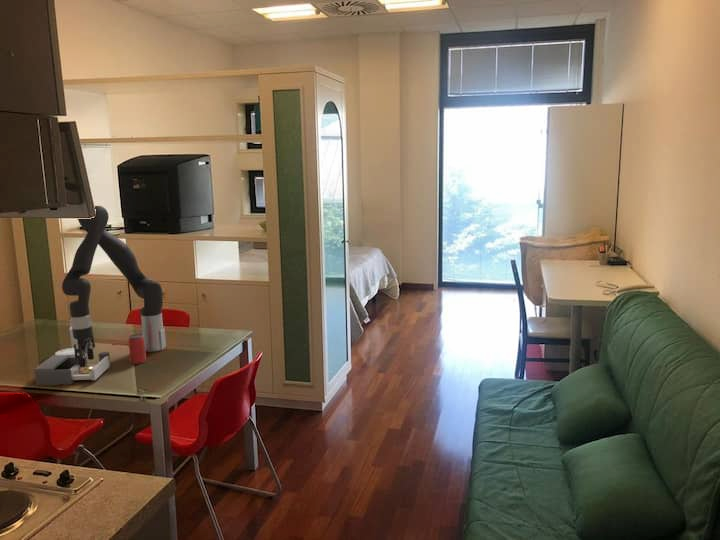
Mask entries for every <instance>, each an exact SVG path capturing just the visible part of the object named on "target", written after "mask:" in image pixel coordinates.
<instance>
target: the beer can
mask: <svg viewBox="0 0 720 540" xmlns="http://www.w3.org/2000/svg"><path fill="white" fill-rule="evenodd" d="M128 348H129V349H128V351H129V359H130V363H131V364H134V365H137V364H138V365H139V364H142V363H145V362H146V361H147V351H145V341H144V338H143V333H142V334H141V333H136V334H131V335H129V337H128Z"/></svg>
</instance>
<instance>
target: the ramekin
mask: <svg viewBox="0 0 720 540" xmlns="http://www.w3.org/2000/svg"><path fill="white" fill-rule="evenodd" d="M54 355H70V357H75V351H74V348H72V347H68V348H63V349H61V350H58V351H56V352H55V353H54ZM77 356H78V353H77Z"/></svg>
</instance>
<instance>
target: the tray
mask: <svg viewBox="0 0 720 540" xmlns="http://www.w3.org/2000/svg"><path fill="white" fill-rule="evenodd" d="M110 363H111V362H110ZM110 363H109V356H106V357H104V358H103V359H102V360H101V361H100V362H99V361H98V363H90V364H88V363H87V364H86V365H93V366H94V367H93V368H92V369H91V373H90V374H79V373H78V368H79V367H80V366H79V365H74V366H73V367H72V368H70V369H71V374H72V380H76V381H81V380H84V381H85V380H87V381H88V380H91V381H96V380H97V379H99V377H101V376H102V374H103V373H105V371H106V370H108V369H109V368H110V366H111V364H110Z"/></svg>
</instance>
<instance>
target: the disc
mask: <svg viewBox="0 0 720 540" xmlns="http://www.w3.org/2000/svg"><path fill="white" fill-rule="evenodd" d="M93 367H94V366H93V365H86V366H85V367H79V368H78V373H79V374H90V373H91V369H92V368H93Z"/></svg>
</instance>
